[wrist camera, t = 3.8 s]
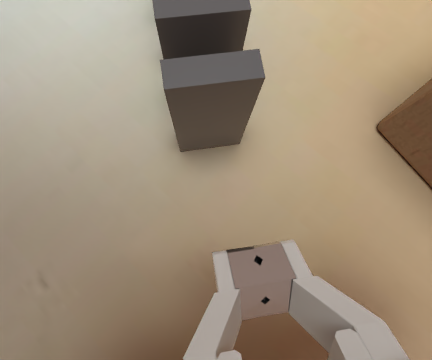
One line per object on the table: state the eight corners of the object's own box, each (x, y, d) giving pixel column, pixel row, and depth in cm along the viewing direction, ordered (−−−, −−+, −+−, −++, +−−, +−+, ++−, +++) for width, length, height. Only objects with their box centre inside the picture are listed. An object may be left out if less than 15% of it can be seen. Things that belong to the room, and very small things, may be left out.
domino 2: (239, 143, 24) (265, 77, 14) (180, 151, 23) (163, 89, 13) (236, 125, 24) (258, 47, 14) (178, 133, 23) (159, 58, 14)
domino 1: (231, 100, 24) (251, 9, 14) (174, 107, 24) (154, 18, 14) (228, 83, 25) (245, -18, 15) (172, 90, 24) (151, -9, 14)
